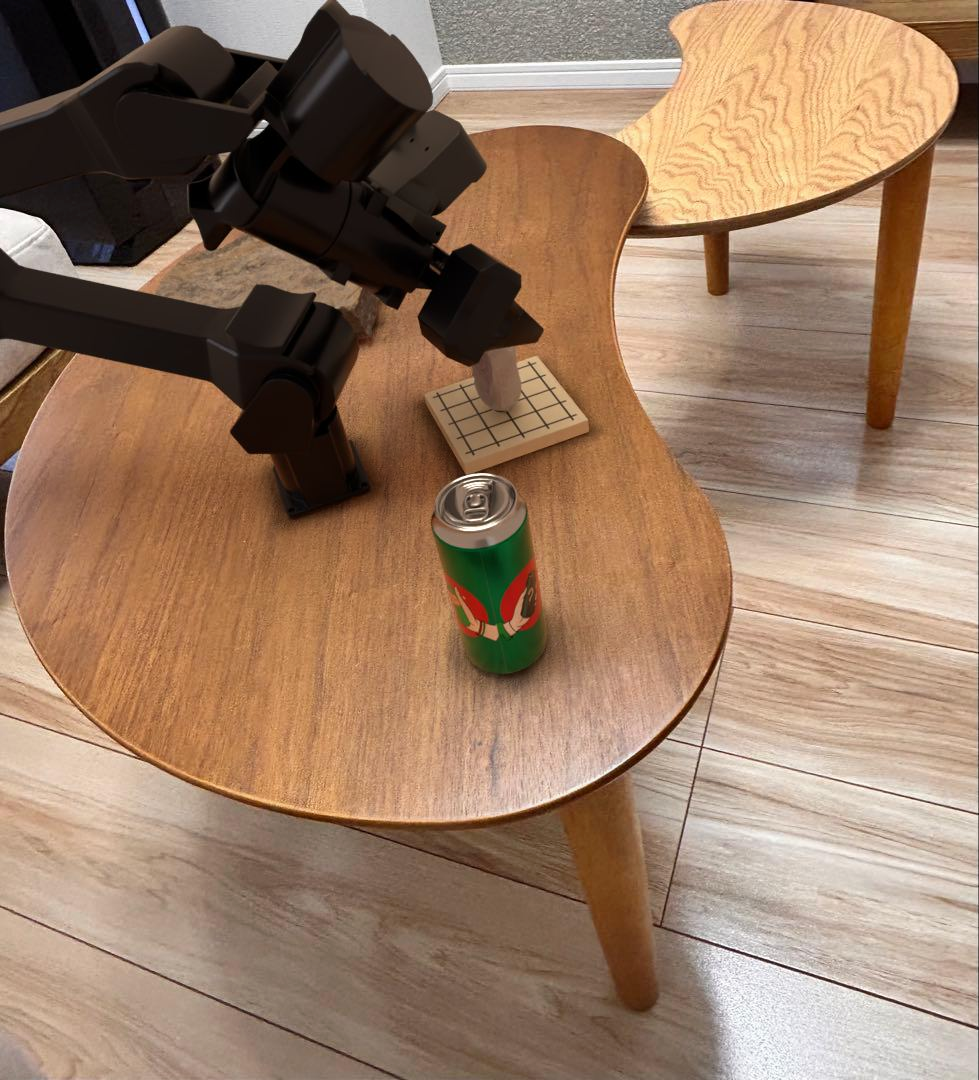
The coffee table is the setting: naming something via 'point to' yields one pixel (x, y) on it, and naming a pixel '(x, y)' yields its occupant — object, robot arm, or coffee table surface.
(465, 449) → the board
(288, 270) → the stone
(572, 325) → the coffee table surface
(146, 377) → the coffee table surface
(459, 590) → the soda can
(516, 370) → the fossil
